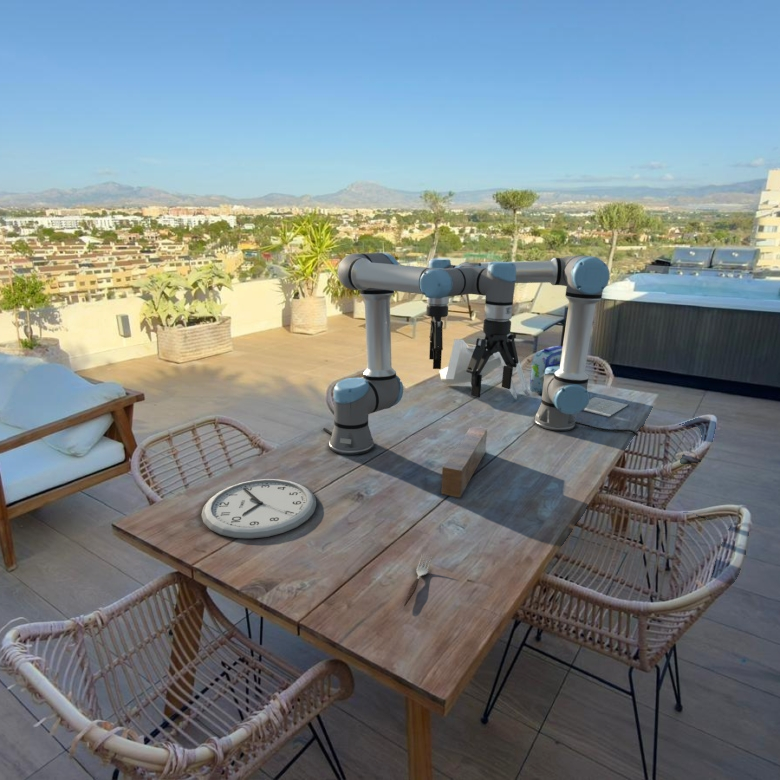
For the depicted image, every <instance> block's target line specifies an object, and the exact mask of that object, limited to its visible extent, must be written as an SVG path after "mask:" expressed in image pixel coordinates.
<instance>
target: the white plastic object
mask: <svg viewBox="0 0 780 780" xmlns="http://www.w3.org/2000/svg"><path fill="white" fill-rule="evenodd" d="M475 347H476V345H473V346H469V345H468V343H466V342H465V340H464V339H463V338H460V339H458V338H454V340H453V344H452V349H451V353H450V357H449V362H448V366H446V367H444V368H441V369H438V370H439V371H438V372H439V376H440V381H442V383H443V384H444V385H445V386H449V385H458V384H467V383H468V384H469V383H471V378H472V374H471V373H468V372H467V371H466V370H467V367H468V365H469V362H470V360H471V357H472V354H473V352H474V349H475ZM486 350H487V349H486ZM517 356H518V357H519V355H518V354H517ZM513 359H514V358H513ZM518 360H519V362H518V364H517V366H516V367H515V369H516V372H517V376H518V380H519V382H520V385H521V389H522V391H523V393H524V395H525V396H526V397H528V396H531V395H530V389H529V388H528V387H529V386H528V384H527V381H526V378H525V375H524V371H523V369H522V368H523V367H522V366H521V362H520V359H519V358H518ZM500 366H502V368H503V366H507V365H506V364H505V362H504V360H503V358H502V356H501V354H500V353H499V352H496V353H493V355H492V356H490V357H489V359H488V361H487V363H486V364H485V366H484V368H483V369H482V371H481V373H480V375H482V380H481V382H482V381H484V378H485V377H486V376H487V375H489V374H490V373H492V372H494V371H495V370H496V369H497V368H499V367H500ZM471 369H472V368H471ZM477 370H478V369H477ZM508 390H509V393H510V394H511V395H512V397H513V398H514V399H515V400H517V392H516V391H517V390H516V388H515V385H514V381H513V377H512V378H511V388H510V389H508Z"/></svg>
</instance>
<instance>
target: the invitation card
mask: <svg viewBox="0 0 780 780" xmlns="http://www.w3.org/2000/svg"><path fill="white" fill-rule="evenodd" d="M628 406H629V404H627V403H623V402H618V401H614V400H609V399H605V398H601V397H596V396H593V397H592V398H589V403H588V405H587V407H586V408H585V409H584V410H583V411H584V412H587V413H593V414H596V415H600V416H604V417H608V418H609V417H611V416H613V415H614V414H616V413H617V412H619V411H621V410H623V409H624V408H626V407H628Z"/></svg>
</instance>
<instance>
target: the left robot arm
mask: <svg viewBox="0 0 780 780" xmlns="http://www.w3.org/2000/svg"><path fill="white" fill-rule="evenodd" d="M511 262H512V261H490V263H489V262H488V263H489V265H488V268H477V267H469V266H456V267H454V268H448V269H441V268H428V266H416V265H404V264H399V262H398V260H397V259H396V258H395V257H394V256H393V255H392V254H390V253H387V252H380V251H379V252H363V253H359V252H357V253H356V252H355V253H351V254H348V255H346V256H345V257H344V258H342V260H341V261H340V262H339V264H338V267H337V277H338V280H339V282H340V283H341V285H342V286H343V287H344V288H346V289H348V290H351V291H352V290H353V291H359V295H360V296H361V298H363V301H364V319H365V344H366V345H365V346H366V369H365V370H364V371H363V373H362V377H356V376H355V377H354V376H353V377H348V378H343V379H341V380H339V381H338V382H336V383H335V385H334V387H333V397H332V398H333V421H334V422H333V424H334V425H333V429H332V431H330V430H329V429H328V428H326V427H323V428H322V430H323V431H324V432H325V433H327V434H329V435H331V437H330V438H329V442H328V447H329V449H330V451H332V452H333V453H335V454H339V455H342V456H343V455H344V456H356V455H362V454H367V453H369V452H370V451H372V450H373V448H374V438H373V436H372V431H371V429H370V427H369V415H371V414H373V413H377V412H379V411H382V410H388V409H391V408H392V407H394V406H397V404H398V403H400V402H401V400H402V398H403V395H404V384H403V382H402V381H401V378H400V377H399V376H398V374H397V370H396V369H394V368H393V366H392V364H393V363H392V334H391V333H392V332H391V331H392V330H391V301H390V300H391V298H392V297H393V295H395V292H400V293H406V294H407V293H408V294H414V295H415V294H416V295H422V296H426V297H427V298H438V299H439V298H443V297H449V298H450V297H457V296H465V295H475V296H482V297H483V296H484V297H485V303H484V310H483V311H484V313H483V317H484V320H483V324H482V325H483V326H482V332H483V333H484V334H485V336H484V338H480V337H478V338H477V339H476V340H475V341H476V342H475V346H476V347H475V349H474V352H473V354H472V357H471V360H470V362H469V365H468V367H467V370H466V371H467V372H468V373H471V374H472V378H471V382H470V385H471V390H470V396H471V397H475V398H478V399H479V398H481V390H482V381H483V380H482V375H480V373H481V371H482V369H483V368H484V366H485V364H486V363H487V361H488V359H489V357H490V356H492V355H493V353H496V352H499V353H500V354H501V356H502V358H503V360H504V362H505V364H506V365H507V366H503V367H502V378H501V388H504V389H507V390H509V389H510V388H511V378H512V379H513V372H514V371H513V370H514V368H516V366H517V364H518V362H520V359H519V355H518V352H517V348H516V343H515V334H513V333H511V329H512V321H511V319H512V316H513V307H514V306H513V305H514V294H515V287H516V283H515V281H516V265H515V264H514V263H511ZM426 297H425V298H426ZM486 349H487V350H486ZM517 355H518V356H517ZM513 358H514V359H513ZM518 359H519V360H518ZM471 368H472V369H471ZM477 369H478V370H477ZM481 380H482V381H481Z"/></svg>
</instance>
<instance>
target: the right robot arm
mask: <svg viewBox="0 0 780 780" xmlns="http://www.w3.org/2000/svg"><path fill="white" fill-rule="evenodd" d="M490 262H491V261H490ZM490 262H468V261H467V262H465V261H463V262H461V263H459V264H458V265H455V264H452V263H451V259H449V258H431V259H429V261H428V266H427V267H428V268H441V269H448V268H454V267H456V266H469V267H477V268H488V265H489V263H490ZM510 262H511V263H514V264H515V265H516V281H515V284H540V283H541V284H542V283H544V284H546V283H547V284H548V283H549V284H550V285H552V286H563V287H566V288H565V296H564V297H565V298H566V300H567V301H568V307H567V314H566V320H565V321H566V322H565V328H564V335H563V342H562V347H563V348H562V355H561V362H560V367H556V366H554V367H547V368H546V369H545V373H544V382H543V392H542V393H541V402H540V405H539V407H538V410H537V411H536V413H535V417H534V424H535V425H536V426H537V427H539V428H542V429H544V430H549V431H556V432H567V431H572V430H574V429H575V428H576V425H577V426H578V425H579V426H581V427H586V428H588V429H589V428H590V429H593V430H598V431H603V432H619V433H620V432H622V433H631V434H633V435H634V436H637V437H639V433H637V432H636V431H635V430H633V429H628V428H625V429H622V428H606V427H605V428H603V427H598V426H594V425H591V424H587V423H583V422H579V421H576V418H575V417H576V416H575V415H576V414H579V413H581V412H582V411H584V409H585V408H586V407H587V405H588V403H589V400H590V393H589V390H588V385H589V378H590V377H589V375H588V374H587V373H586V366H587V361H588V357H589V356H588V355H589V349H590V342H591V338H592V337H591V336H592V330H593V324H594V317H595V311H596V305H597V303H599V302H600V301H601V300H602V297H603V293H604V290H605V288H606V287H607V286H608V284H609V282H610V276H611V275H610V269H609V267H608V265H607V264H606V263H605V262H604V260H602V259H600V258H598V257H597V256H591V255H584V254H578V255H572V256H571V255H570V256H565V257H563V256H562V257H553V258H552V259H551V260H536V261H535V260H534V261H532V260H531V261H510ZM424 296H425V295H424ZM425 298H426V303H427V305H426V309H425V311H426V312H425V313H426V314H425V315H426V316H427V317H430V318H431V319H430V331H429V332H430V333H429V355H428V356H429V357H428V359H429V360H433V361H432V370H441V369H442V357H443V356H442V353H443V350H444V348H443V343H444V342H443V326H444V322H443V320H442V318H447V317H448V315H449V306H448V305H449V303H450V296H449V297H443V298H439V299H438V298H428V297H426V296H425Z"/></svg>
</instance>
